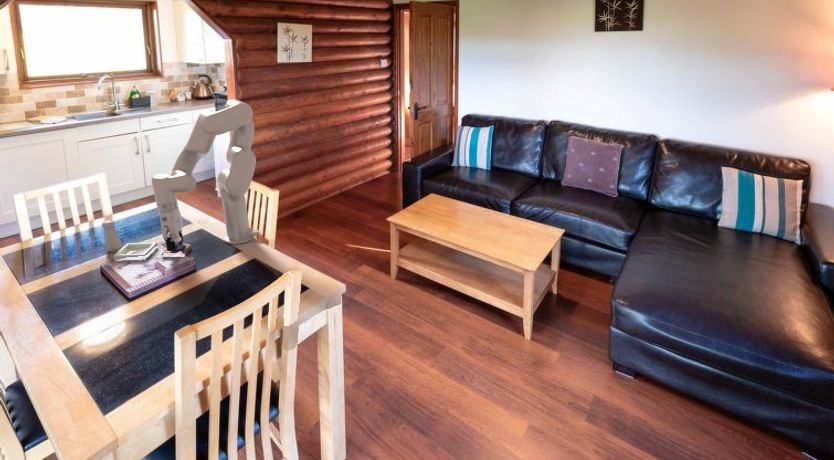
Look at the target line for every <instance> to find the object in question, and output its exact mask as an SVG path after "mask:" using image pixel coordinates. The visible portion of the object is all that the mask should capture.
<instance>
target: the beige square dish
mask: <svg viewBox="0 0 834 460" xmlns="http://www.w3.org/2000/svg"><path fill="white" fill-rule="evenodd" d="M183 248H184V250H183V251H182V253H185V254H187V255H188V253H189V252H190V251H191V250H192V244H189V243H187V244H186V243H183ZM166 251H168V250H167V247H166V248H165V250H164V251H163V252H162V253H161V255H162V254H164V253H177V252H166Z"/></svg>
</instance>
